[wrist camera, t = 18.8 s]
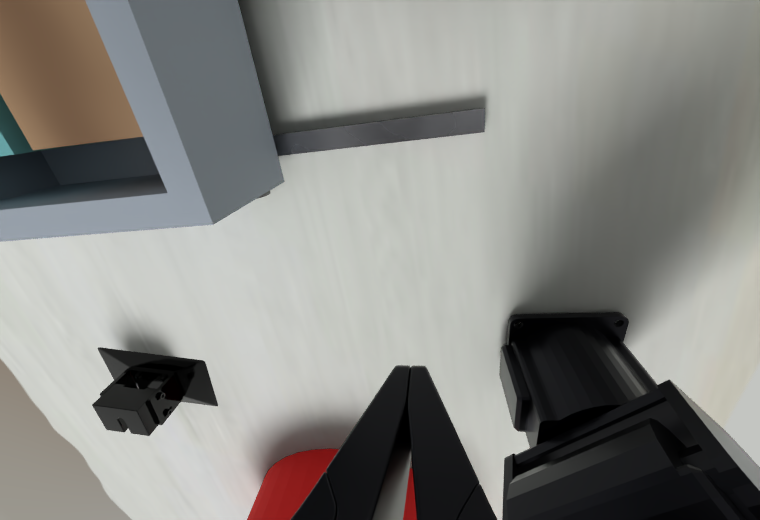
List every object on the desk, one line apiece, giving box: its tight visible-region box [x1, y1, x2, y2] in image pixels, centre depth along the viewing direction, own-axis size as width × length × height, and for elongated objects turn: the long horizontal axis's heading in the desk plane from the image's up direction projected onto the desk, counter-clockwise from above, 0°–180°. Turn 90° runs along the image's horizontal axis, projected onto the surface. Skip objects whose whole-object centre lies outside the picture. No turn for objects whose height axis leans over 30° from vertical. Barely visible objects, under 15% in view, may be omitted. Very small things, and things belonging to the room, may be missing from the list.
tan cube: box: [0, 0, 143, 150], centre depth 11 cm, size 4×4×4 cm
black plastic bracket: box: [92, 348, 218, 436], centre depth 25 cm, size 12×7×5 cm, turn 88°
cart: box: [0, 0, 284, 241], centre depth 13 cm, size 13×12×7 cm
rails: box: [273, 108, 485, 156], centre depth 15 cm, size 23×8×1 cm, turn 97°
